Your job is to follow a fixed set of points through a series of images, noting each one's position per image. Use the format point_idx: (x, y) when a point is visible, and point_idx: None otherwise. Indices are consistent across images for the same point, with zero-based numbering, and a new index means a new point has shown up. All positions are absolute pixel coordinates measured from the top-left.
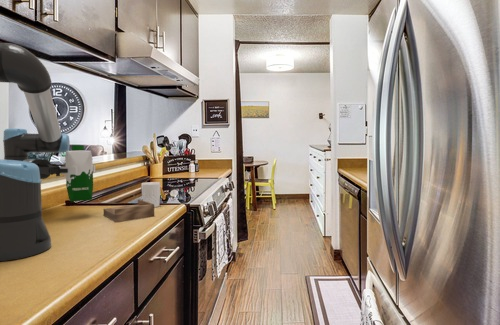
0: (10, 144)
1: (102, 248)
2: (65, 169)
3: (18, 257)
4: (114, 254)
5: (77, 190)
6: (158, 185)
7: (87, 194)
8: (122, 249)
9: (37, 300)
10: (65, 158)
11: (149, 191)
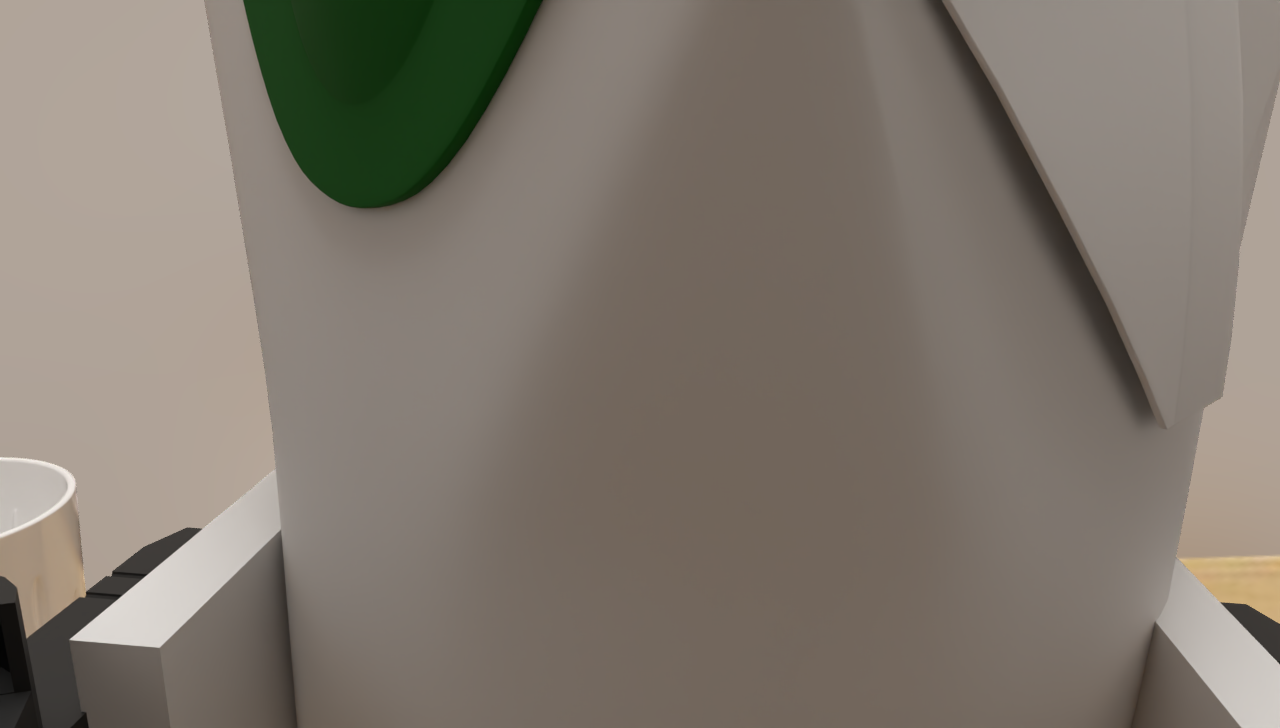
0: None
1: (1273, 618)
2: (1243, 623)
3: None
4: (1270, 563)
5: None
6: (35, 478)
7: None
8: (1204, 562)
9: None
10: (1223, 293)
11: (78, 575)
